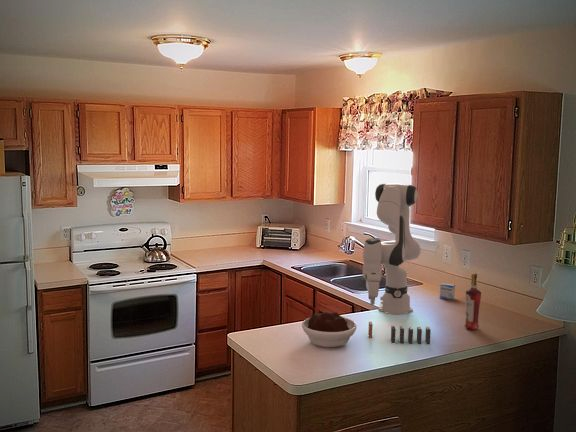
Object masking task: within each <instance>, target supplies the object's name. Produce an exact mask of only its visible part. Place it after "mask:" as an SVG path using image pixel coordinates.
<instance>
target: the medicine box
mask: <svg viewBox="0 0 576 432" xmlns="http://www.w3.org/2000/svg"><path fill="white" fill-rule="evenodd" d="M455 291H456V284H452V283H443V282H441V283H440V285H439V299H440V300H449V301H454V300H455V293H456V292H455Z"/></svg>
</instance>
